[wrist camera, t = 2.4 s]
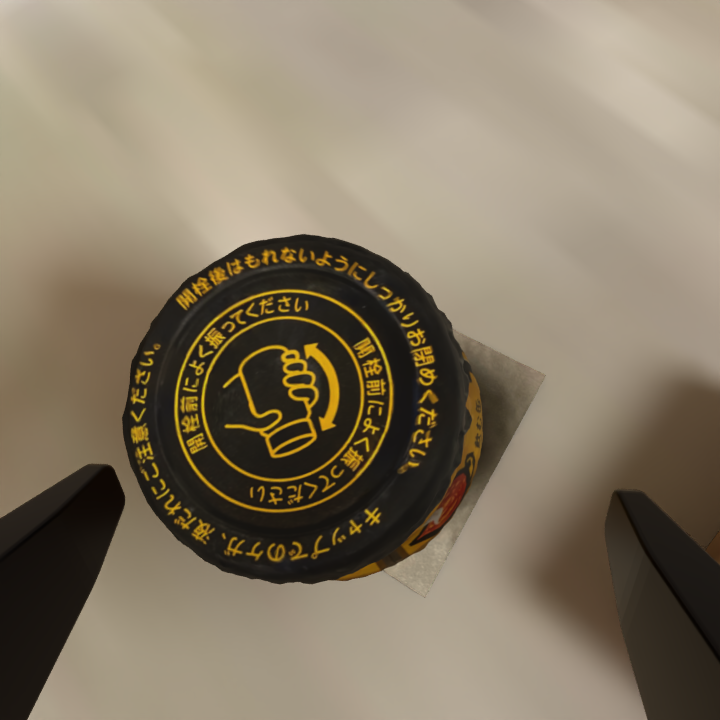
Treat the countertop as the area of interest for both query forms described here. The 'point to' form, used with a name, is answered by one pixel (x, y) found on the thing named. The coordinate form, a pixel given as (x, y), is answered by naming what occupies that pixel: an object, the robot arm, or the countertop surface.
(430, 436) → the condiment
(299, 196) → the countertop surface
